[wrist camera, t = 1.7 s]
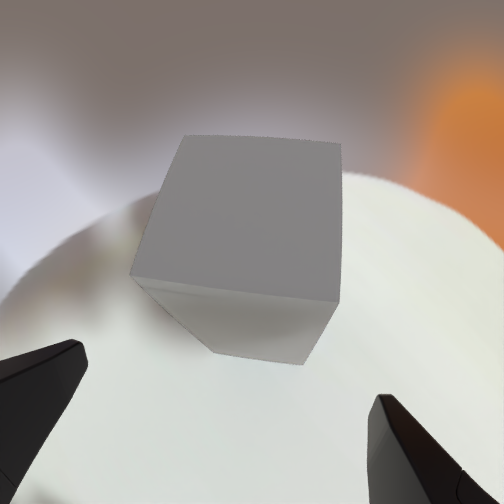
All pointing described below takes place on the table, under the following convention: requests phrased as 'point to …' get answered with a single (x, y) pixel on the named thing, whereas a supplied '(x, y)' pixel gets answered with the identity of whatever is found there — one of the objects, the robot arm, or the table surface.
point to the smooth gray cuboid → (247, 244)
